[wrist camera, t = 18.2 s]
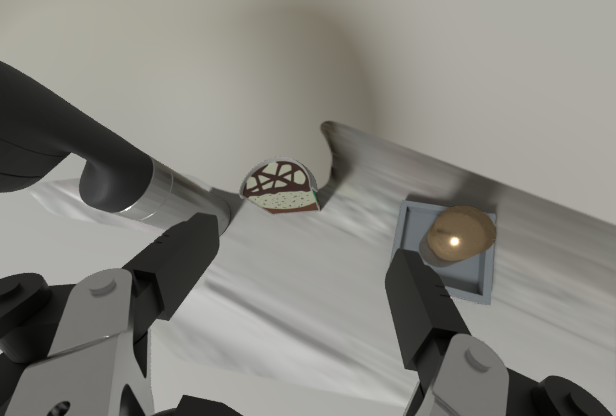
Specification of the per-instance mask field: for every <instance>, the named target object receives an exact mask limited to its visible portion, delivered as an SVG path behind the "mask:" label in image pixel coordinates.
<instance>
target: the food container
mask: <svg viewBox="0 0 616 416" xmlns="http://www.w3.org/2000/svg"><path fill="white" fill-rule="evenodd" d="M315 191H316V192H318V191H317V184H316V180H315V178H314V176H313V175H312V173H311V172H310V171H309V170H308V169H307V168H306V167H305V166H304V165H303V164H301V163H300V162H298V161H296V160H294V159H290V158H286V157H278V158H272V159H268V160H266V161H264V162H262V163H260V164H258V165H257V166H256V167H254V168H253V169H252V170H251V171H250V172H249V173H248V175H247V176H246V177H245V179H244V181H243V183H242V185H241V187H240V191H239V195H240V197H241V198H242V199H243V200H244V198H245V199H247V200H248V201H250V202H252V203H253V204H255V205H257V206H258V207H260V208H262V209H263V210H265V211H267V212H268V213H270V214H272V215H280V214H293V213H306V212H319V211H320V204H319V201H318V199H317V196H316V193H315Z"/></svg>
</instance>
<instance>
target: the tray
mask: <svg viewBox="0 0 616 416" xmlns="http://www.w3.org/2000/svg"><path fill="white" fill-rule="evenodd" d="M448 208H450V207H445V206H439V205H432V204H426V203H419V202H413V201H406V200H402V203H401V207H400V213H399V218H398V224H397V229H396V234H395V240H394V245H393V250H392V256H391V261H390V264H391V262H392V259H393V257H394V255H395V252H396V250H397V249H398V248H401V249H407V250H412V251H417V252H418V253H419V254H420V252H419V243H420V241H421V239H422V238H423V237H424V235H425V234H426V233H427V231H428V230H429V229H430V227H431V226H432V225H433V223H434V222H435V221H436V220H437V218H438V217H439V216H440V214H441V213H442V212H443V211H445V210H446V209H448ZM484 213H485V212H484ZM485 214H487V215H488V216H489V217H490V219H491V220H492V221H493V223H494V225H495V221H496V214H491V213H485ZM493 255H494V243H493V245H492V246H491V247H490V248H489V249H488V250H486V251H485V252H483V253H480V254H478V255H475V256H473V257H470V258H468V259H465V260H463V261H461V262H458V263H456V264H453V265H451V266H448V267H444V268H439V267H434V266H432V265H430V264H428V263H427V262H426V261H424V259H423V258H422V257H421V258H422V260H423V262H424V264H425V265H428V266H430V267H431V268H432V269H433V270H434V271H435V272H436V273H437V274H438V275H439V276H440V278H441V280H442V282H443V284H444V285H445V289H447V291H448V293H449V295H450V296H454V297H457V298H461V299H464V300H468V301H472V302H475V303H479V304H484V305H491V288H492V271H493ZM420 256H421V255H420ZM389 267H390V266H389Z"/></svg>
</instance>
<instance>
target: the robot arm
mask: <svg viewBox="0 0 616 416" xmlns="http://www.w3.org/2000/svg"><path fill="white" fill-rule="evenodd" d="M71 152H72V153H74V154H77V155H79V156H80V157H82V158H84V159H86V160H87V162H86V165H85V167H84V170H83V173H82V175H81V179H80V184H79V192H80V196H81V198H82V200H83V201H84V202H85V203H86V204H87V205H89V206H91V207H93V208H96V209H99V210H102V211H106V212H109V213H112V214H115V215H119V216H122V217H125V218H128V219H132V220H135V221H139V222H142V223H145V224H148V225H152V226H155V227H158V228H161V229H165V230H166V231H165V232H164V233H163V234H162V236H159V237H158V238H157V239H156V240H154V243H151V244H150V245H148V246H147V247H146V248H145V249H144V250H142V251H141V252H140V253H139V254H138V255H136V256H135V257H134V258H133V259H132V260H130V261H129V262H128V263H127V264H126V265H124V266H123V267H122V268H121V269H119V268H117V269H107V270H103V271H100V272H97V273H94V274H92V275H90V276H88V277H86V278H85V279H83V280H82V281H80V282H79V283H78V284H69V285H54V286H48V284H47V283H46V281H45V280H44V278H43V277H42V276H41V275H39V274H36V273H23V274H17V275H12V276H8V277H5V278H2V279H0V349H1V350H2V351H3V353H2V354H0V416H243V415H241V414H240V413H238V412H236V411H235V410H233V409H232V408H230V407H228V406H227V405H225V404H223V403H221V402H216V401H211V400H207V399H202V398H197V397H192V396H188V395H183V396H182V399H181V401H180V403H179V404H178V406H177V408H172V409H169V410H165V411H161V412H159V413H156V414H155V413H154V402H153V396H152V390H151V328H150V326H151V325H152V323H153V322H154V321H155V320H156V318H157V319H162V320H167V321H169V320H170V318H171V317H172V316H173V314H174V313H175V312H176V310H177V309H178V307H179V306H180V305H181V303H182V302H183V301H184V299H185V298H186V296H187V295H188V294H189V292H190V291H191V290H192V288H193V287H194V285H195V284H196V283H197V281H198V280H199V278H200V277H201V276H202V274H203V273H204V272H205V270H206V269H207V267H208V266H209V265H210V263H211V262H212V261H213V259H214V258H215V256H216V255H217V252H218V250H219V236H220V235H221V234H222V233H223V232H224V231H225V229H226V228H227V226H228V224H229V221H230V209H229V206H228V205H227V203H226V202H225V201H223V200H221V199H220V198H218V197H216V196H215V195H213V194H212V193H210V192H208V191H207V190H205V189H203V188H202V187H200V186H199V185H197V184H195V183H194V182H192V181H190V180H189V179H187V178H185V177H184V176H182V175H180V174H179V173H177V172H175V171H174V170H172V169H171V168H169V167H167V166H165V165H164V164H162V163H160V162H159V161H157V160H155V159H154V158H152V157H151V156H149V155H147V154H146V153H144V152H142V151H141V150H139V149H138V148H136V147H134V146H133V145H132V144H130V143H129V142H127V141H126V140H124V139H123V138H122V137H120V136H119V135H117V134H116V133H114V132H112V131H111V130H109V129H108V128H106V127H104V126H103V125H101V124H100V123H98V122H97V121H95V120H94V119H92V118H91V117H89V116H88V115H86V114H85V113H83V112H82V111H80V110H79V109H77V108H76V107H74V106H72V105H71V104H70V103H68V102H67V101H65V100H64V99H63V98H61V97H59V96H58V95H57V94H55V93H54V92H52V91H51V90H49V89H48V88H46V87H45V86H43V85H41V84H40V83H38V82H37V81H35V80H34V79H32V78H31V77H29V76H27V75H25V74H24V73H22V72H20V71H19V70H17V69H15V68H13V67H11V66H10V65H8V64H6V63H3V62H1V61H0V193H2V192H13V191H17V190H21V189H24V188H26V187H29V186H31V185H33V184H34V183H36V182H38V181H39V180H40V179H42V178H43V177H44V176H45V175H46V174H47V173H48V172H50V171H51V170H52V169H53V168H54V167H55V166H57V165H58V164H59V163H60V162H61V161H62V160H63V159H65V158H66V157H67V156H68V155H69V154H70V153H71ZM385 289H386V293H387V297H388V301H389V305H390V309H391V314H392V318H393V322H394V326H395V330H396V334H397V339H398V343H399V347H400V351H401V355H402V359H403V364H404V368H405V369H408V370H413V371H417V372H418V376H419V379H420V380H419V381H418V383H417V385H416V387H415V389H414V391H413V394H412V396H411V398H410V400H409V403H408V405H407V407H406V409H405V412H404V414H403V416H613V415H612V414H611V413H610V412H609V411H608V410H607V409H606V408H605V407H604V406H603V405H602V404H601V403H600V402H599V401H598V400H597V399H596V398H595V397H594V396H592V395H591V394H590V393H589V392H587V391H586V390H585V389H583V388H582V387H580V386H579V385H577V384H575V383H573V382H572V381H570V380H568V379H565V378H563V377H559V376H548V377H547V378H545V379H544V380H543V381H541V382H540V383H538V382H536V381H534V380H532V379H530V378H528V377H526V376H524V375H522V374H519V373H517V372H515V371H513V370H511V369H509V368H507V367H506V366H505V365H504V363H503V361H502V360H501V359H500V357H499V356H498V355H497V354H496V353H495V352H494V351H493V350H492V349H491V348H490V347H489V346H488V345H487V344H485V343H484V342H482V341H481V340H479V339H477V338H475V337H473V336H472V335H471V333H470V331H469V330H468V328H467V326H466V324H465V322H464V320H463V319H462V317H461V315H460V313H459V311H458V309H457V308H456V306H455V304H454V302H453V300H452V299H451V298H450V295H449V293H448V291H447V289H445V285H444V284H443V282H442V280H441V278H440V276H439V275H438V274H437V273H436V272H435V271H434V270H433V269H432V268H431V267H430V266H428V265H425V264H424V262H423V260H422V258H421V256H420V254H419V253H418V252H417V251H412V250H407V249H401V248H398V249H397V250H396V252H395V255H394V257H393V259H392V262H391V264H390V267H389V269H388V271H387V274H386V278H385Z"/></svg>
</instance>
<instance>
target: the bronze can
mask: <svg viewBox="0 0 616 416" xmlns="http://www.w3.org/2000/svg"><path fill="white" fill-rule="evenodd" d="M495 239H496V228H495V225H494V223H493V221H492V220H491V219H490V217H489V216H488V215H487V214H485V213H484V212H483V211H481V210H479V209H477V208H475V207H471V206H466V205H458V206H453V207H450V208H448V209H446V210H445V211H443V212H442V213H441V214H440V216H439V217H438V218H437V220H436V221H435V222H434V223H433V225H432V226H431V227H430V229H429V230H428V231H427V233H426V234H425V235H424V237H423V238H422V239H421V241H420V243H419V252H420V255H421V257H422V258H423V259H424V261H426V262H427V263H428V264H430V265H432V266H434V267H439V268H444V267H448V266H451V265H453V264H456V263H458V262H461V261H463V260H465V259H468V258H470V257H473V256H475V255H478V254H480V253H483V252H485V251H486V250H488V249H489V248H490V247H491V246H492V245H493V243H494V241H495Z"/></svg>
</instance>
